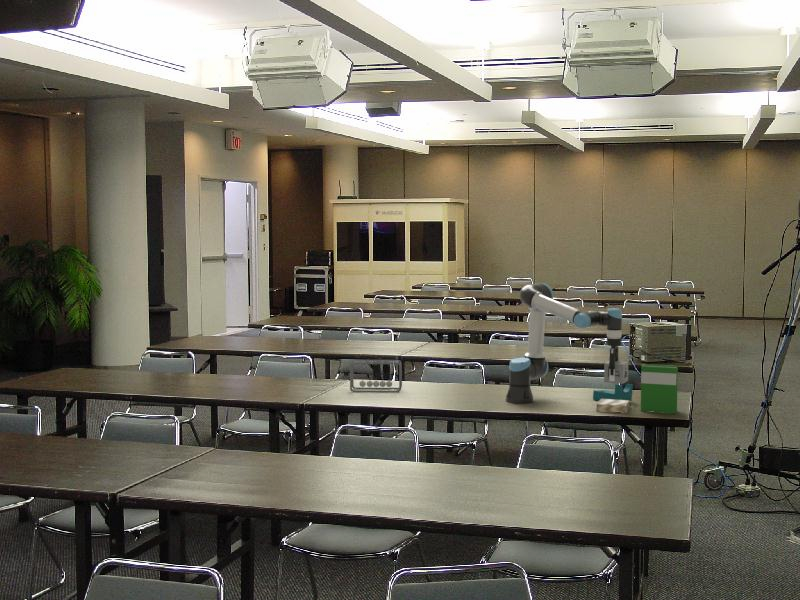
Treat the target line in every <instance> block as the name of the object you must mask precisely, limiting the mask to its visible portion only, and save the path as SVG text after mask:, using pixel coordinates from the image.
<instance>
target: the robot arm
mask: <svg viewBox="0 0 800 600" xmlns="http://www.w3.org/2000/svg"><path fill="white" fill-rule="evenodd" d="M519 300H520V301H521V302H522V304H523V305H524V306H527V308H528V309H529V311H530V313H529V326H528V338H527V352H525V354H524V356H523V357H516V358H512V359H511V360H509V366H508V369H509V371H508V373H509V374H508V377H509V378H508V384H509V385H508V386H509V387H508V390H507V393H506V396H505V401H506V402H508V403H511V404H529V403H533V402H534V394H533V391H532V389H531V381H533V380H537V379H538V380H539V379H541V378H543V377H545V376H546V375H547V374H548V371H549V363H548V361H547V360H546V355H545V354H544V341H545V328H546V327H545V326H546V316H547V315H546V314H547V313H549V314H551V315H553V316H556V317H558V318H560V319H563V320H565V321H568V322H570V323H573V324H574V325H575V326H576V327H577V328H579V329H585V328H589V327H590V328H591V327H596V326H602V327H606V337H607V338H606V345H607V346H610V349H609V359H608V361H609V367H608V369H610V371H609V381H615V361H620V360H619V346H622V344H623V343H622V335H623V331H622V330H623V328H622V326H623V325H622V323H623V312H622V309H621V308H619V307H618V308H616V307H615V308H614V307H612V308H611V307H610V308H607V311H600V310H588V311H587V312H585V311H583V310H580V309H577V308H576V307H573V306H570V305H568V304H565V303H563V302H560V301H558V300H556V299H554V291H553V289H552V287H551V286H550V285H548V284H547V283H541V282H540V283H534V284H533V283H532V284H526V285H524V286H523V287H522V288H521V289H520V291H519Z"/></svg>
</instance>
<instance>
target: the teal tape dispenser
mask: <svg viewBox="0 0 800 600" xmlns="http://www.w3.org/2000/svg"><path fill="white" fill-rule="evenodd" d="M633 385H634V384H632V383H631V384H630V383H626V384H625V387H624V388H623V384H619V383H614V390H610V389H609V390H608V389H596V390H592V391H593V394H592V400H594V401H597V402H599V401H600V399H614V400H629V401H630V402H632V399H633V389H634V387H633Z"/></svg>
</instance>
